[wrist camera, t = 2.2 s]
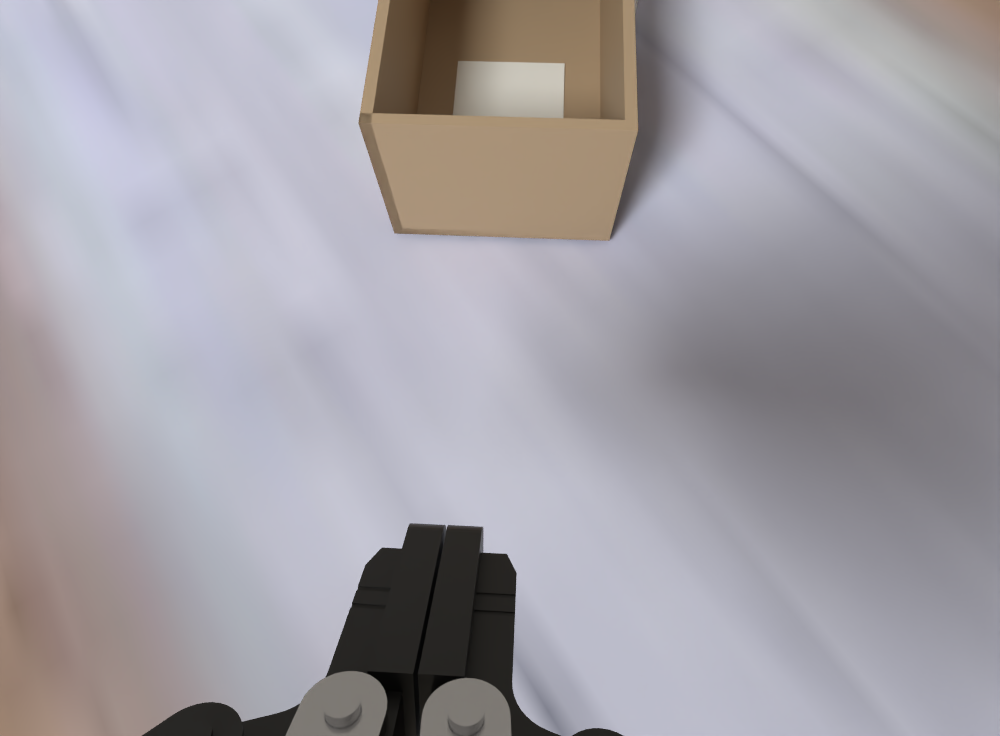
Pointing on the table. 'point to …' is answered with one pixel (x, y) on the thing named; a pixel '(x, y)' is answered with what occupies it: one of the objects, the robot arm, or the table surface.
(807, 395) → the table surface
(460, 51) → the wooden drawer
